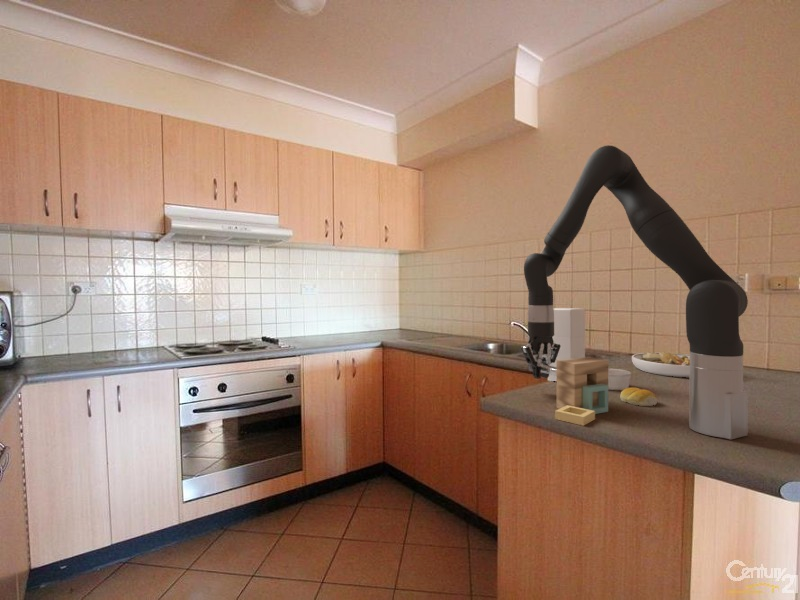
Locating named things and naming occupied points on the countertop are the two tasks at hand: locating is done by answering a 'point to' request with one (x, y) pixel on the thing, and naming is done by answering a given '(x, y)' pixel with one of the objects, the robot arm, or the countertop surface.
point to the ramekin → (618, 379)
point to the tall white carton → (568, 334)
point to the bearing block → (579, 379)
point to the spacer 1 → (575, 415)
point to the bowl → (663, 363)
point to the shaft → (545, 369)
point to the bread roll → (638, 397)
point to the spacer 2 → (602, 398)
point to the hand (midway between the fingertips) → (541, 377)
